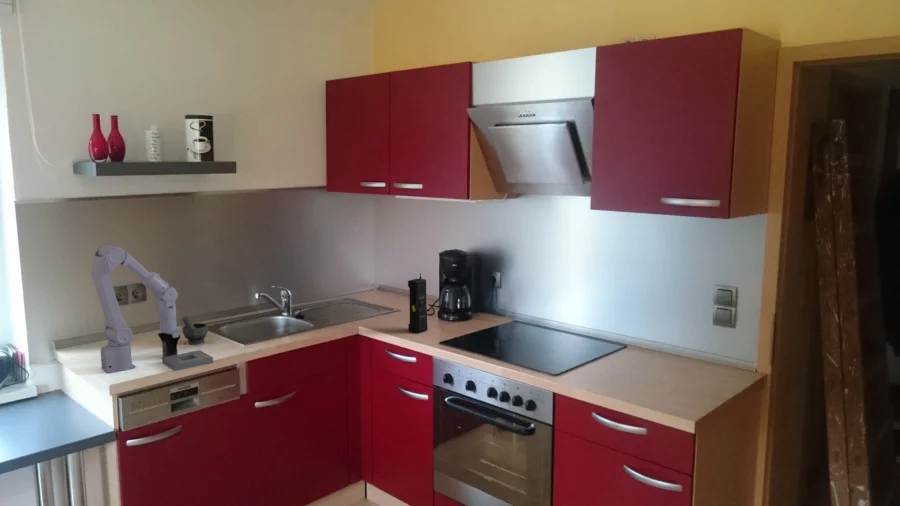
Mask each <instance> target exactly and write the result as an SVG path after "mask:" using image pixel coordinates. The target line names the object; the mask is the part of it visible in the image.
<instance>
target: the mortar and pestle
mask: <svg viewBox="0 0 900 506" xmlns="http://www.w3.org/2000/svg"><path fill="white" fill-rule="evenodd" d="M181 321H182V322H183V324H184V325H183V326H182V334H183V335H184V337H185V338H186V340H188V341H187V344H188V345H194V346H195V345H201V344H204V343H205V337H207V335H208V333H209V324H207V323H202V322H200V323H199V322H198V323H197V322H195V323H193V322H192V321H191V319H190V316H188V315H187V316H186V315H185V316H183V317H182V318H181Z"/></svg>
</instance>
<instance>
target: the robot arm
mask: <svg viewBox="0 0 900 506" xmlns="http://www.w3.org/2000/svg"><path fill="white" fill-rule="evenodd" d="M120 265H123V266H125V267H126V268H128V270H130V271H132V272H133V273H134V274H135V275H137V276H138V277H139V278H140V279H141V284H143V286H144V287H146V288H147V289H148V290H149V291H151V292H152V293H153V294H154V296H155V298H156V299H158V309H159V310H158V312H159V333H157V336H158V337H159V339H160V341H161V342H162V340H165V341H166V344H167V347H168V352H169V354H175V352H176V348H177V349H178V343H179V341H180V338H181V335H180V334H179V333H180V332H179V331H178V330H180V329H181V327H180V326H178V323H177V308H176V307H177V306H176V300H177V299H178V297H179V292H177V289H176V287H173V286H169V285H170V283H169V282H168V281H165V280H164V279H163V278H162V277H160V276H161V274H160V273H159V272H154V271H148V269H146V268H145V267H144V266H143V265H142V263H140V262H139V261H137V260H136V259H135V258H134V256H132V255H131V254H130V253H129V252H127V251H126V250H124V249H123V248H122V247H120V246H113V245H111V244H102V245H99V247H98V248H97V250H95V252H94V253H93V262H92V266H91V269H90V270H91V271H90V273H91V274H90V275H91V277H92V281H93V284H94V287H95V289H96V290H95V291H96V293H97V296H98V300H99V303H100V306H101V309H102V312H103V313H102V314H103V315H104V318H105V321H104V323H103V325H104V337H105V338H106V339H107V340H108V341H107V344H106V345H103V346H101V347H100V360H101V370H103V371H104V372H105V373H107V374H109V373H115V372H116V373H117V372H121V371H125V370H130V369H135V368H137V366H136V365H135V364H133V363H132V362H133V361H132V360H133V359H132V346H131V341H132V339H133V337H134V333H133V330H132V329H131V328H130V327H129V326H128V324H127V322H126V320H125V318H123V316H122V312H121V308H120V306H119V302H118V299H117V295H116V292H115V290H114V286H113V283H112V280H111V277H110V276H111V275H110V274H111V273H112V272H113V271H114V269H116V268H117V267H118V266H120Z"/></svg>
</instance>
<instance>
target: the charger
mask: <svg viewBox="0 0 900 506" xmlns="http://www.w3.org/2000/svg"><path fill="white" fill-rule="evenodd" d="M161 343H162V344H161V347H162V356H163V357H167V356H173V355H178V347H177V348H176V352H175V354H169V352H168V347H167V344H166V341H165V340H162V341H161Z"/></svg>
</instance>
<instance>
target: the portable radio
mask: <svg viewBox="0 0 900 506" xmlns="http://www.w3.org/2000/svg"><path fill="white" fill-rule="evenodd" d="M421 275H422V273H419V278H414V279H410V280H407V287H408V288H409V324H408V325H407V326H408V327H407V328H408V332H410V333H414V334H420V333H423V332H427V331H428V329H429V328H428V310H427V309H428V308H427V306H428V305H427V279H425V278H422V277H421Z"/></svg>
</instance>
